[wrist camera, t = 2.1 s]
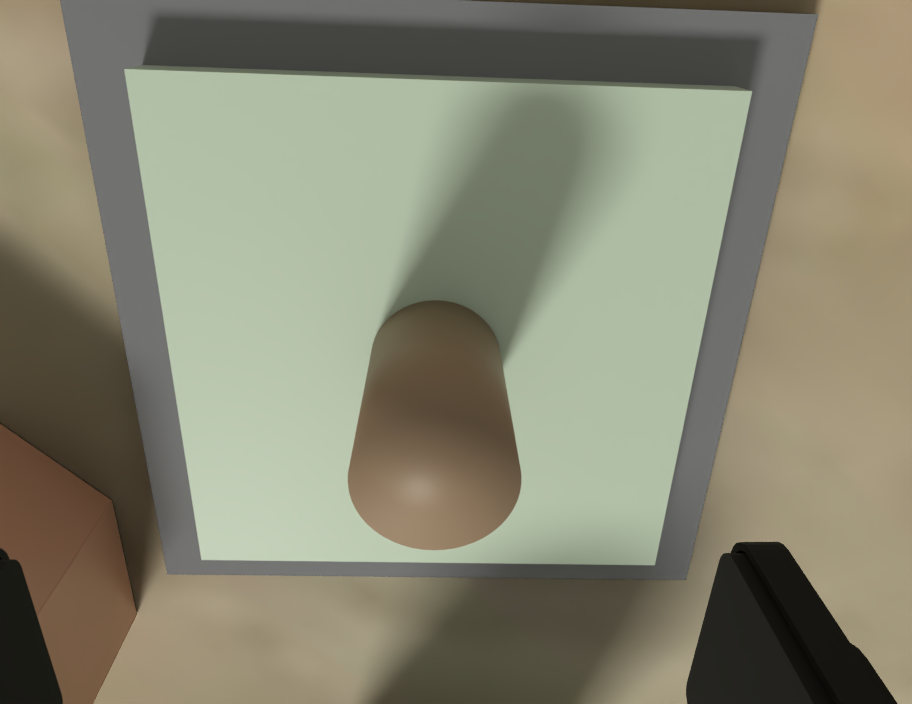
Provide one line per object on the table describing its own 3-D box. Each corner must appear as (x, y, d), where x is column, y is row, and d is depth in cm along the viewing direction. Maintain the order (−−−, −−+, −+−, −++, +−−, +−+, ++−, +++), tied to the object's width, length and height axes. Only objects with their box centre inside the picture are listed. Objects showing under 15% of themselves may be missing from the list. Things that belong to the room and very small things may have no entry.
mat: (805, 13, 16) (817, 14, 15) (680, 566, 23) (686, 579, 22) (70, -15, 15) (57, -16, 15) (173, 560, 22) (167, 574, 22)
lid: (734, 86, 16) (885, 130, 11) (645, 542, 22) (714, 720, 16) (142, 64, 15) (-17, 99, 10) (211, 536, 21) (134, 718, 16)
